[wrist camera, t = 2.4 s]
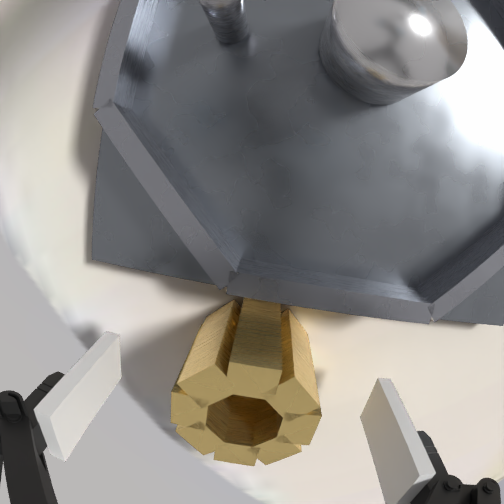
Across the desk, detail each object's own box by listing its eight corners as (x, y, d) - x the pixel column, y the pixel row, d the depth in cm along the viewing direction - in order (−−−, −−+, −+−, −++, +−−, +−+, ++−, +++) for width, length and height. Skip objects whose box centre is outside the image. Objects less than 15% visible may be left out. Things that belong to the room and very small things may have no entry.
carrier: (186, -94, 10) (162, -151, 4) (518, -6, 10) (566, -33, 4) (105, 252, 17) (32, 293, 10) (490, 316, 16) (548, 366, 10)
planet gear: (205, 290, 17) (173, 350, 11) (318, 309, 17) (336, 376, 11) (196, 378, 18) (170, 450, 12) (293, 395, 18) (297, 470, 12)
